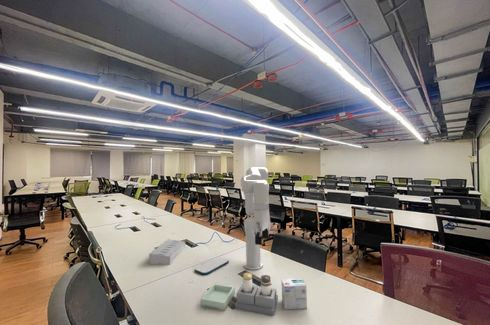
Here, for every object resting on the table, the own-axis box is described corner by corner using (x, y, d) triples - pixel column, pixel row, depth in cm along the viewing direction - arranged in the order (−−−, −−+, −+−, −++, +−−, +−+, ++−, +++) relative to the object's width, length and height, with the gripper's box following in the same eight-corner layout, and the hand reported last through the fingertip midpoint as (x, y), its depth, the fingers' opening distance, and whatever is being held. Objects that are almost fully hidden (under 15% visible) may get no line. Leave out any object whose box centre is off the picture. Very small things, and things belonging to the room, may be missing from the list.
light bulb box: (303, 299, 105) (302, 277, 105) (307, 309, 98) (307, 285, 98) (281, 300, 104) (280, 278, 105) (284, 310, 98) (283, 286, 98)
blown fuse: (262, 297, 104) (262, 274, 104) (271, 299, 102) (271, 275, 103) (260, 303, 100) (259, 279, 100) (270, 304, 98) (269, 280, 98)
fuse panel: (242, 293, 111) (242, 281, 111) (277, 299, 105) (277, 287, 106) (235, 308, 99) (234, 295, 99) (273, 315, 94) (273, 301, 94)
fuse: (244, 294, 106) (244, 272, 107) (253, 296, 105) (253, 273, 105) (242, 299, 102) (241, 276, 103) (251, 301, 101) (250, 277, 101)
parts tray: (213, 290, 115) (213, 283, 115) (235, 293, 111) (234, 286, 111) (200, 306, 101) (200, 298, 101) (224, 310, 98) (224, 303, 98)
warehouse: (169, 265, 146) (169, 254, 147) (149, 264, 147) (149, 253, 148) (185, 248, 176) (185, 239, 176) (168, 248, 177) (168, 239, 177)
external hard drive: (205, 277, 129) (205, 273, 129) (192, 271, 136) (192, 268, 136) (230, 262, 148) (230, 259, 148) (218, 258, 155) (218, 256, 155)
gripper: (260, 203, 116) (260, 235, 116) (247, 209, 100) (248, 246, 100) (273, 204, 113) (274, 236, 113) (262, 210, 97) (263, 248, 97)
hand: (262, 241), depth 106 cm, fingers open, 9 cm apart
